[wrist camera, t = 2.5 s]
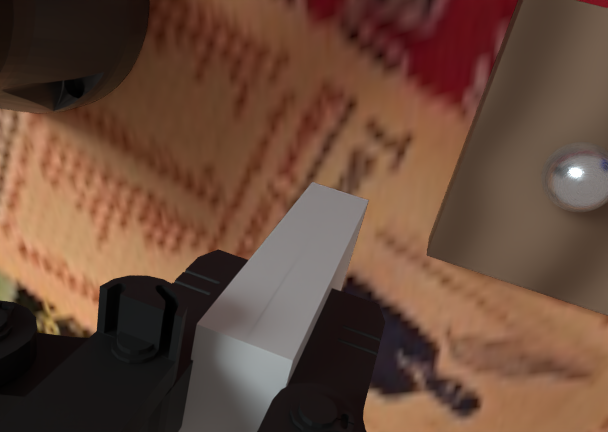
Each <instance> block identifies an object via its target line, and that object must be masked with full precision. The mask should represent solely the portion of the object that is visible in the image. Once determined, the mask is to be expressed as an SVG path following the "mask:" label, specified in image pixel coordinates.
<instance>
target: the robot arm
mask: <svg viewBox="0 0 608 432" xmlns="http://www.w3.org/2000/svg"><path fill="white" fill-rule="evenodd" d="M148 15H149V0H0V109H7V110H14V111H21V112H29V113H55V112H61V111H65V110H69V109H73V108H76V107H79V106H83V105H86V104H89V103H92V102H94V101H96V100H98V99H100V98H102V97H104V96H105V95H107V94H108V93H110V92H111V91H112V90H113V89H115V88H116V87H117V86H118V85H119V84H120V83H121V82H122V81H123V79H124V78H125V77H126V76H127V74H128V73H129V71H130V70H131V68H132V67H133V65H134V63H135V61H136V59H137V57H138V55H139V53H140V50H141V47H142V44H143V41H144V37H145V34H146V28H147V23H148ZM368 201H369V200H366V199H363V198H360V197H357V196H354V195H351V194H348V193H345V192H342V191H339V190H335V189H332V188H329V187H326V186H323V185H320V184H317V183H314V182H312V183H311V184H310V186H309V187H308V188H307V189H306V190H305V192H304V193H303V194H302V195H301V197H300V198H299V199H298V200H297V202H296V203H295V204H294V205H293V206H292V208H291V209H290V210H289V211H288V213H287V214H286V215H285V216H284V217H283V219H282V220H281V221H280V222H279V224H278V225H277V226H276V227H275V229H274V230H273V231H272V232H271V233H270V235H269V236H268V237H267V238H266V240H265V241H264V242H263V243H262V245H261V246H260V247H259V248H258V249H257V251H256V252H255V253H254V254H253V256H252V257H251V258H250V259H249V260H246V259H244V258H241V257H238V256H235V255H232V254H229V253H227V252H224V251H221V250H216V251H213V252H211V253H208V254H205V255H203V256H200V257H198V258H197V259H196V260H195V261H194V262H193V263H192V264H191V265H190V266H189V267H188V268H187V269H186V271H185V272H183V273H182V274H181V275H180V276H179V277H178V278H177V279H176V280H175V282H174V283H172V284H171V283H169V282H167V281H166V280H163V279H159V278H155V277H151V276H125V277H121V278H116V279H113V280H111V281H109V282H107V283H105V284H103V285H101V286H100V294H99V308H98V322H97V331H96V332H95V333H94V334H93V335H92V336H91V337H90V338H80V337H68V336H60V335H52V334H44V333H37V324H36V317H35V316H34V315H33V314H32V313H31V311H30V310H29V309H28V308H26V307H23V306H21V305H19V304H17V303H14V302H7V301H0V432H366V430H365V425H364V421H363V410H364V405H365V401H366V397H367V393H368V389H369V385H370V381H371V377H372V373H373V369H374V365H375V361H376V357H377V353H378V349H379V345H380V340H381V337H382V333H383V329H384V325H385V320H384V318H383V315H382V312H381V309H380V307H379V304H376V303H373V302H370V301H367V300H365V299H362V298H359V297H356V296H353V295H351V294H348V293H345V292H342V291H341V289H342V286H343V282H344V279H345V276H346V273H347V269H348V266H349V263H350V260H351V256H352V253H353V250H354V247H355V243H356V240H357V237H358V234H359V230H360V227H361V224H362V221H363V218H364V214H365V211H366V208H367V205H368Z"/></svg>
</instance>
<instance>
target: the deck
mask: <svg viewBox="0 0 608 432" xmlns="http://www.w3.org/2000/svg"><path fill="white" fill-rule="evenodd" d="M575 142H589V143H593V144H596V145H599V146H601V147H603V148H604V149H606V150H607V151H608V8H604V7H600V6H596V5H592V4H588V3H584V2H580V1H576V0H518V2H517V5H516V8H515V10H514V13H513V16H512V18H511V21H510V24H509V26H508V29H507V32H506V34H505V37H504V39H503V42H502V45H501V47H500V50H499V53H498V55H497V58H496V61H495V63H494V66H493V69H492V71H491V74H490V77H489V79H488V82H487V85H486V87H485V90H484V93H483V95H482V98H481V101H480V103H479V106H478V109H477V111H476V114H475V117H474V119H473V122H472V125H471V127H470V130H469V133H468V135H467V138H466V141H465V143H464V146H463V149H462V151H461V154H460V157H459V159H458V162H457V165H456V167H455V170H454V173H453V175H452V178H451V181H450V183H449V186H448V189H447V191H446V194H445V196H444V199H443V202H442V204H441V207H440V210H439V212H438V215H437V218H436V220H435V223H434V226H433V228H432V231H431V234H430V236H429V242H428V249H427V256H430V257H433V258H436V259H439V260H442V261H445V262H448V263H451V264H454V265H457V266H460V267H463V268H466V269H469V270H472V271H475V272H478V273H481V274H484V275H487V276H490V277H493V278H496V279H499V280H502V281H505V282H508V283H511V284H514V285H517V286H520V287H523V288H526V289H529V290H532V291H535V292H538V293H541V294H544V295H547V296H550V297H553V298H556V299H559V300H562V301H565V302H568V303H571V304H574V305H577V306H580V307H583V308H586V309H589V310H592V311H595V312H598V313H601V314H604V315H607V316H608V202H607V203H605V204H604V205H602V206H601V207H599V208H597V209H594V210H591V211H587V212H572V211H568V210H565V209H562V208H560V207H558V206H557V205H555V204H554V203H553V202H552V201H550V199H549V198H548V197H547V195H546V194H545V192H544V190H543V187H542V182H541V174H542V169H543V166H544V164H545V162H546V160H547V159H548V158H549V156H550V155H551V154H552V153H553V152H555V151H556V150H557V149H559V148H560V147H562V146H564V145H567V144H570V143H575Z"/></svg>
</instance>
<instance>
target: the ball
mask: <svg viewBox="0 0 608 432" xmlns="http://www.w3.org/2000/svg"><path fill="white" fill-rule="evenodd" d="M541 182H542V187H543V190H544V192H545V194H546V195H547V197H548V198H549V199H550V201H552V202H553V203H554V204H555V205H557V206H558V207H560V208H562V209H565V210H568V211H572V212H587V211H591V210H594V209H597V208H599V207H601V206H602V205H604V204H605V203H607V202H608V151H607V150H606V149H604V148H603V147H601V146H599V145H596V144H593V143H589V142H575V143H570V144H567V145H564V146H562V147H560V148H559V149H557V150H556V151H555V152H553V153H552V154H551V155H550V156H549V158H548V159H547V160H546V162H545V164H544V166H543V169H542V174H541Z"/></svg>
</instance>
